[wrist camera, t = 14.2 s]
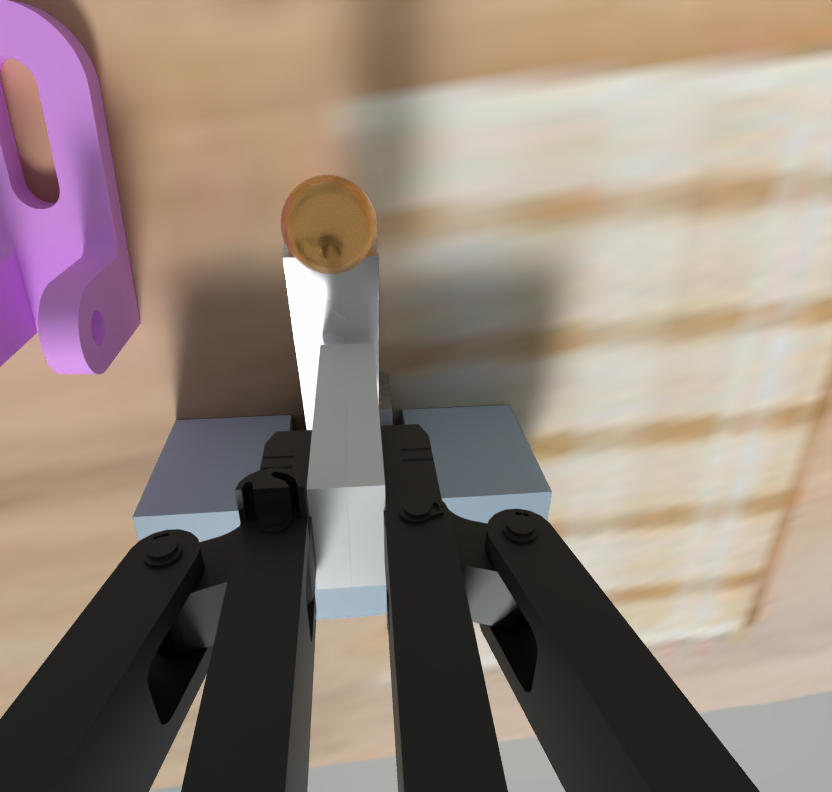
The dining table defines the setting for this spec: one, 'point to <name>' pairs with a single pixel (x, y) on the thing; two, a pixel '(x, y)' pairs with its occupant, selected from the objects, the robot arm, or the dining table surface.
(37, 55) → the bracket
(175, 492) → the hitch block
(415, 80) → the dining table surface
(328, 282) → the latch bar
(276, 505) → the robot arm
